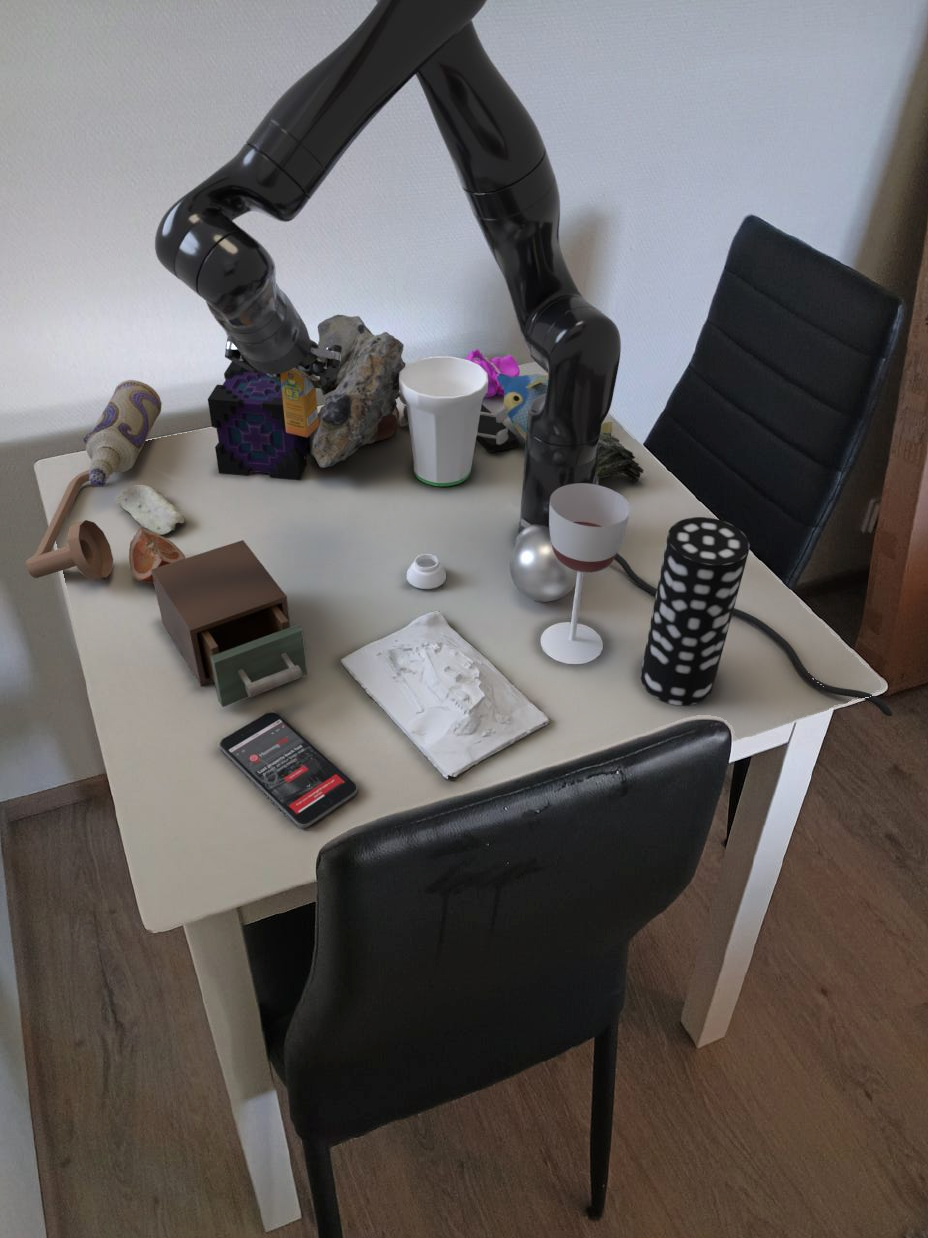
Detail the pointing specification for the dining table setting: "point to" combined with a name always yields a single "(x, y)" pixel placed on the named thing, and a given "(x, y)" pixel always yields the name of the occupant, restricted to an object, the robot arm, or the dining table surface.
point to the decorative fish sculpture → (526, 398)
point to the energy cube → (254, 427)
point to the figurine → (500, 437)
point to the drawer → (252, 654)
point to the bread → (387, 426)
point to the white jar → (426, 572)
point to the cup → (443, 416)
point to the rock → (355, 388)
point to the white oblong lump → (150, 509)
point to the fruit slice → (150, 554)
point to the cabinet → (212, 596)
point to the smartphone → (288, 768)
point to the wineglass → (582, 557)
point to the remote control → (493, 433)
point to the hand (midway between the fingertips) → (302, 378)
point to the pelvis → (495, 370)
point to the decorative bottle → (121, 430)
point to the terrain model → (443, 694)
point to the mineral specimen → (615, 459)
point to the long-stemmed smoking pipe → (73, 543)
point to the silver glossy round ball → (539, 566)
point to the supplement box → (299, 404)
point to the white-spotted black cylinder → (693, 609)
